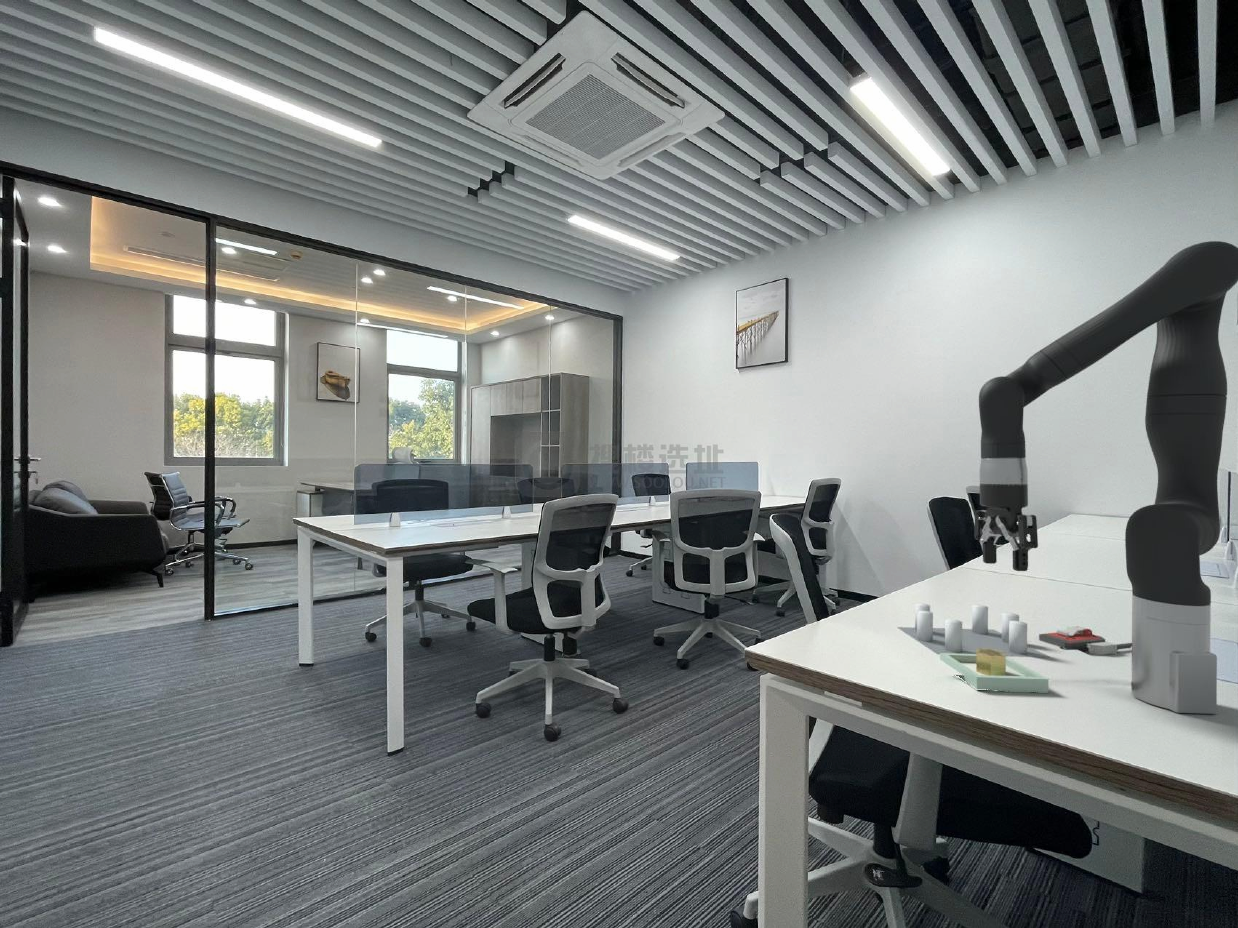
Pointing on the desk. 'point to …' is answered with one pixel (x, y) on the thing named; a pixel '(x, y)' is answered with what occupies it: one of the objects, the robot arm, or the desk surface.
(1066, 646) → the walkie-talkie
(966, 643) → the grey pegged base
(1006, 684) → the tray
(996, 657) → the khaki cube
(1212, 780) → the desk surface
